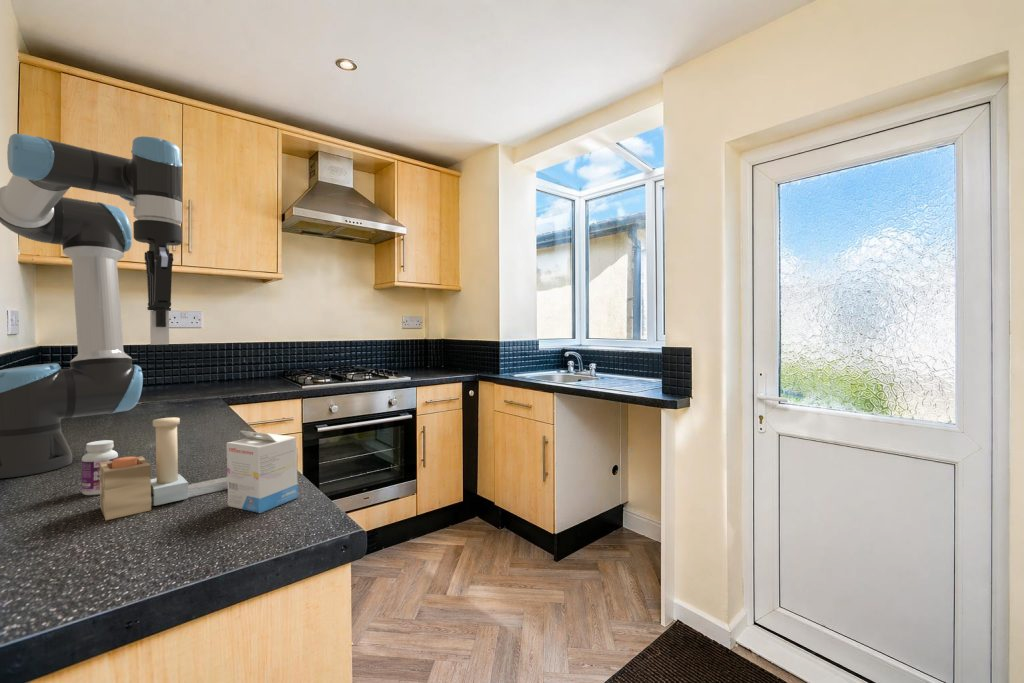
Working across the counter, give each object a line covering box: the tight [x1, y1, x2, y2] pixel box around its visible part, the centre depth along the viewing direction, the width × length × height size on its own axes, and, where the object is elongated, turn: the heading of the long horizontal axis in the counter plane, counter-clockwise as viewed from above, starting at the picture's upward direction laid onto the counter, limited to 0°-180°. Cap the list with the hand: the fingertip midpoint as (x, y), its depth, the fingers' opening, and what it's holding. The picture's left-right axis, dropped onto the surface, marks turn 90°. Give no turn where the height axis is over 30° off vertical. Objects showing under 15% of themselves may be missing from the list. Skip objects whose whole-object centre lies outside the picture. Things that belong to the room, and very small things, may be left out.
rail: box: [151, 476, 228, 507], centre depth 89 cm, size 6×15×3 cm, turn 137°
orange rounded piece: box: [112, 456, 138, 469], centre depth 82 cm, size 3×3×4 cm
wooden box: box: [99, 455, 152, 521], centre depth 82 cm, size 8×6×8 cm
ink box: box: [226, 430, 299, 514], centre depth 85 cm, size 9×8×13 cm
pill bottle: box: [81, 439, 119, 496], centre depth 90 cm, size 5×5×10 cm
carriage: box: [151, 416, 189, 506], centre depth 86 cm, size 7×5×15 cm
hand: (159, 344), depth 90 cm, fingers closed
